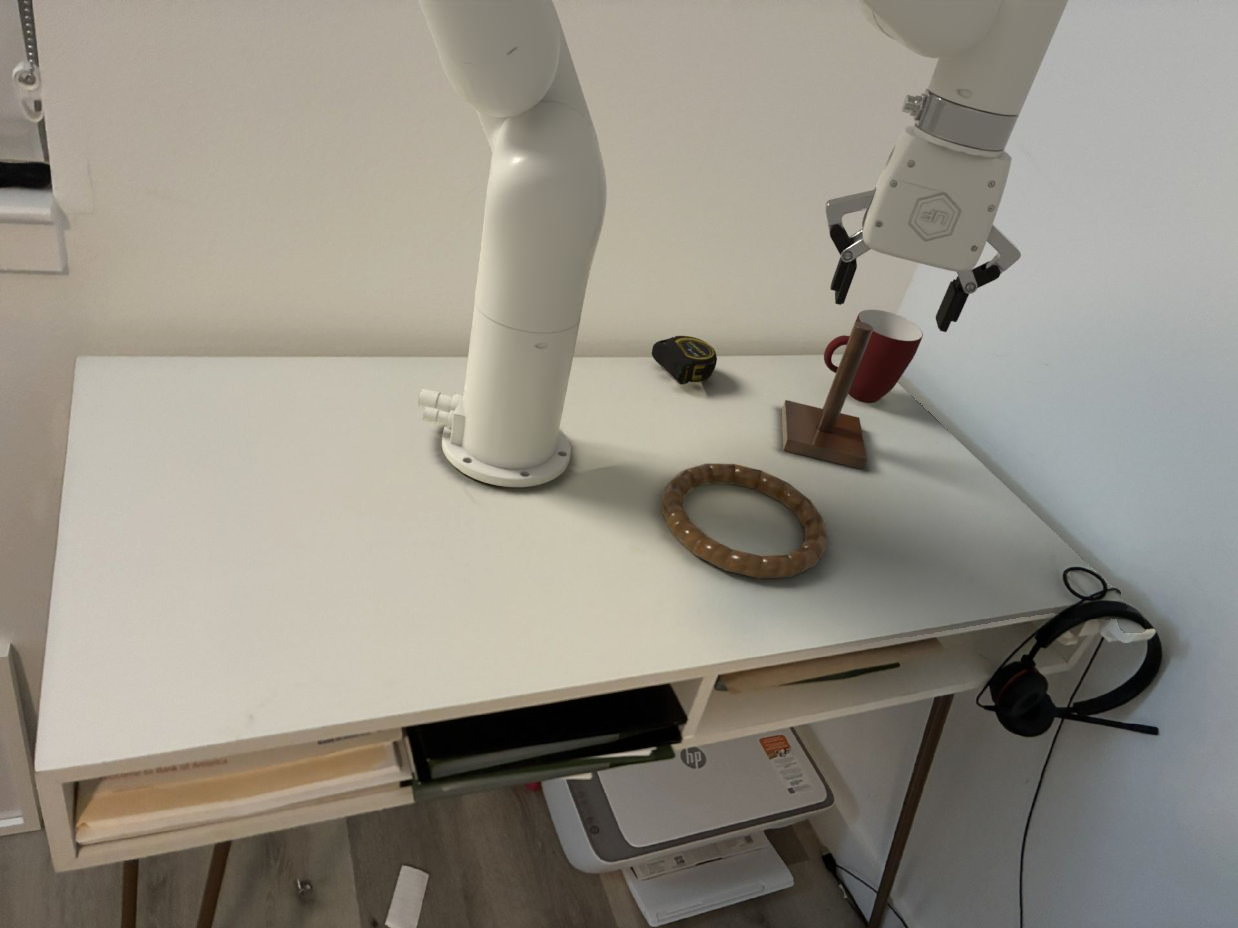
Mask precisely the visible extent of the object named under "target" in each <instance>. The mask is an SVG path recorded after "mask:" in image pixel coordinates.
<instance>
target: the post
mask: <svg viewBox="0 0 1238 928" xmlns="http://www.w3.org/2000/svg"><path fill="white" fill-rule="evenodd" d="M854 324H855V325H854ZM854 324H853V326H854V327H853V326H852V329H853V330H852V329H851V331H852V333H851V332H850V334H851V335H850V334H849V336H850V338H849V340H848V343H847V345H845V347H844V348H845V349H844V352H843V354H842V357H841V359H840V362H839V365H838V366H837V367H838V369H837V372H836V373H835V375H834V377H833V380H832V383H831V384H830V388H829V390H828V392H827V396H826V398H825V402H824V404H823V407H822V408H821V407H817V406H814V405H813V406H812V405H809V404H805V403H800V402H796V401H792V400H788V399H785V400H784V402H783V405H782V408H781V427H782V443H783V444H782V446H783V447H782V448H783V449H782V450H783V451H785V452H788V453H793V454H797V455H802V456H804V457H805V456H806V457H810V458H814V459H818V460H822V461H826V462H830V463H835V464H838V465H843V466H848V467H851V468H856V469H859V470H863V469H864V466H865V464H866V462H867V460H868V457H867V452H866V446H865V441H864V440H865V439H864V434H863V430H862V424H861V420H860V419H861V418H860V417H859V416H854V415H850V414H847V413H842V410H843V407H844V405H845V402H846V400H847V397H848V396H849V394H848V392H849V390H850V387H851V385H852V382H853V380H854V377H855V375H856V372H857V370H858V367H859V365H860V362H861V359H862V357H863V354H864V352H865V349H866V347H867V344H868V342H869V339H870V337H871V334H872V332H873V327H872V326H871V325H869V324H867V323H864V322H856V323H855V322H854Z"/></svg>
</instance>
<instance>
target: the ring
mask: <svg viewBox="0 0 1238 928" xmlns="http://www.w3.org/2000/svg"><path fill="white" fill-rule="evenodd" d="M708 484H733V485H737V486H741V487H745V488H749V489H754V490H757V491H759V492H761V493H763V494H765V495H767V496H769V497H771V498H773V499H775V500H778V501H779V502H780V503H781V504H783V506H785V507H786V508H787V509H788V510H789V511H791V512H792V513H793V514H795V516H796V518H797V519H798V520H799V522H800V524H801V525H802V527H803V528H804V538H805V540H804V541H803V543H802V544H801V546H800V547H799V548H798V549H796V550H792V551H791V552H788V553H786V554H777V555H776V554H774V555H773V554H772V555H760V554H759V555H758V554H755V553H751V552H745V551H742V550H738V549H735V548H734V549H733V548H731V547H729V546H727V545H725V544H723V543H722V542H719V541H718V540H715V539H714V538H711V537H710V536H708V535H706V533H705V532H703V531H702V530H701V529H700V528H699V527H698V526H697V525H696V524H694V522H692V521H691V519H690V517H689V515H688V512H687V511H686V509H685V507H684V505H685V497H686V496H687V495H688V494H689V493H690V492H691V491H692V490H693V489H696V488H698V487H701V486H705V485H708ZM661 512H662V514H663V516H664V518H665V521H666V523H667V525H668V528H669V529H670V532H671V533H672V535H673V536H674V537H675V538H676V539H677V540H678V541H679V542H681V544H683V545H684V546H685V547H686V548H687V549H688V550H689V551H690V552H691V553H692V554H693V555H695V556H696V557H698V558H700V559H702V560H704V561H706V562H708V563H709V564H711V565H713V566H716V567H717V568H719V569H721V570H723V571H726V572H730V573H734V574H738V575H743V576H747V577H751V578H755V579H778V578H781V579H782V578H791V577H794V576H796V575H798V574H800V573H803V572H805V571H807V570H809V569H812V568H813V567H815V566H816V565H817V563H818V562H819V560H821V557H822V556H823V554H824V552H825V551H826V550H827V548H828V535H827V534H828V532H827V524H826V521H825V519H824V517H822V515H821V513H820V512H819V510H818V509H817V507H816V506H815V504H814V502H813V501H812V500H811V499H810V498H809V497H807V496H806V495H805V494H803V493H802V492H801V491H800V490H799V489H797V488H796V487H794V486H793V484H791V483H790V482H788V481H786V480H783V479H781V478H779V477H777V476H775V475H772V474H770V473H768V472H766V471H764V470H761V469H758V468H753V467H749V466H746V465H741V464H737V463H714V462H713V463H711V462H710V463H703V464H699V465H695V466H693V467H689V468H686V469H683V470H681V471H680V472H679V473H678V474H677V475H675V476H674V478H672V479H671V480H670V482H668V483H667V484H666V485H665V487H664V491H663V497H662V504H661Z"/></svg>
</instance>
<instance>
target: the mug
mask: <svg viewBox="0 0 1238 928" xmlns="http://www.w3.org/2000/svg"><path fill="white" fill-rule="evenodd" d="M856 322H864V323H867V324H869V325H871V326H872V327H873V332H872V334H871V337H870V339H869V342H868V344H867V347H866V349H865V352H864V354H863V357H862V359H861V362H860V365H859V367H858V370H857V372H856V375H855V377H854V380H853V382H852V385H851V387H850V390H849V392H848V396H850V397H851V398H852V399H854V400H855V401H858V402H860V403H865V404H875V403H877V402H878V401H880V400H881V399H883V398H884V397H885V396H886V395H887V394H888V393H890V392H891V391H892V390H893V389H894V388H895V386H896V385H897V383H898V382H899V380H900V379H901V377H902V376H903V375H904V373H905V371H906V370H907V368H908V367H909V365H910V364H911V362H912V361H913V359H914V357H915V356H916V354H917V352H918V350H919V347H920V344H921V342H922V339H923V337H924V334H923V331H922V330H921V328H920V327H919V326H918V325H916V324H915V323H914V322H912V321H911V320H909V319H907V318H906V317H903V316H901V315H898V314H896V313H892V312H890V311H885V310H879V309H865V310H862V311H860V312H858V314H857V316H856V319H855V321H854V324H853V326H852V329H851V331H850V334H849V335H845V334H844V335H839V336H837V337H835V338H833V339H832V340H831V341H830V342H829V343H828V344H827V346H826V348H825V350H824V353H823V361H824V364H825V366H826V367H827V368H828V370H829V371H831V372H833V373H834V374H836V372H837V369H838V367H839V366H837V365H835V364H834V363H833V361H832V359H833V355H834V353H835V351H836V350H838V349H839V348H840V347H842V346H847V343H848V340H849V338H850V335H851V333H852V330H853V327H854V325H855V323H856Z"/></svg>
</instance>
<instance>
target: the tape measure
mask: <svg viewBox="0 0 1238 928" xmlns="http://www.w3.org/2000/svg"><path fill="white" fill-rule="evenodd" d="M651 357H652V358H653V359H654V361H655V362H656V363H657V364H658V365H659V366H660V367H661V368H662V369H663V370H665V371H666V372H667V373H668V374H669V375H670V376H671V377H672V378H673V379H674V380H675V382H677V383H678V384H679V385H681V386H682V385H687V384H689V383H703V382H705V381H707V380H708V379H709V378H710V377H712V375H713V373H714V371H715V369H716V366H717V362H718V356H717V352H716V350H715V348H714V347H713V346H712V345H711V344H709V342H706V341H704V340H703V339H701V338H698V337H694V336H687V335H676V336H672V337H669V338H665V339H660V340H658V341H656V342H655V343H654V344H653V345H652V349H651Z"/></svg>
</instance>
